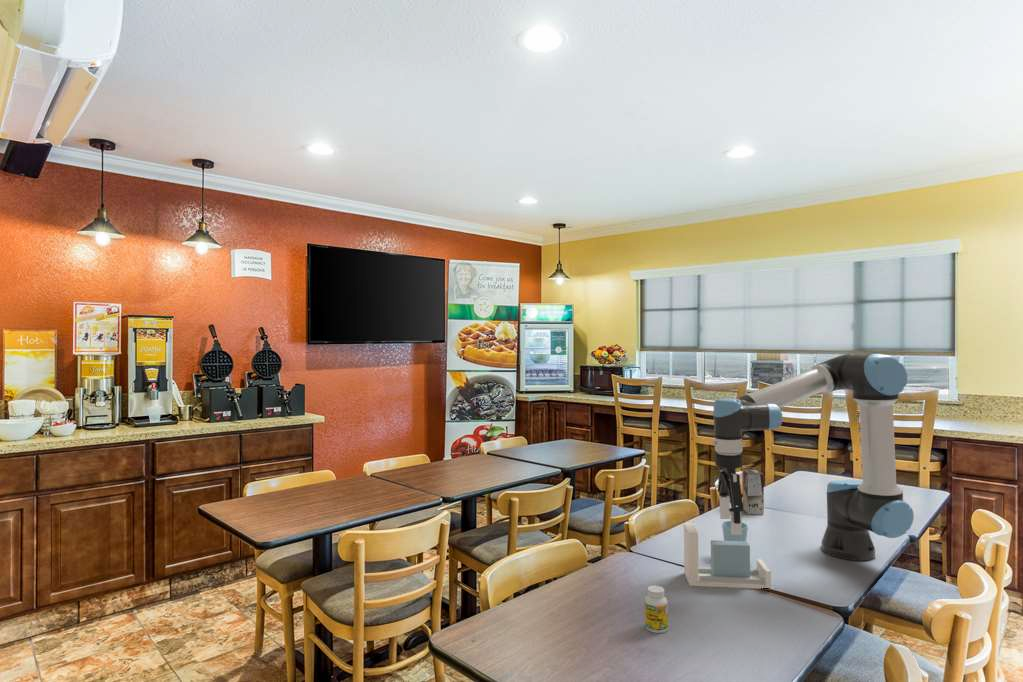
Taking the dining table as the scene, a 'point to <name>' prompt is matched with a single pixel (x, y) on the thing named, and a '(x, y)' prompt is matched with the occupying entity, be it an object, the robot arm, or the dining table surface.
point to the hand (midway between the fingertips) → (730, 526)
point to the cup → (730, 537)
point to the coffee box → (753, 491)
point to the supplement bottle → (656, 610)
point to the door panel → (730, 558)
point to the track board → (703, 575)
